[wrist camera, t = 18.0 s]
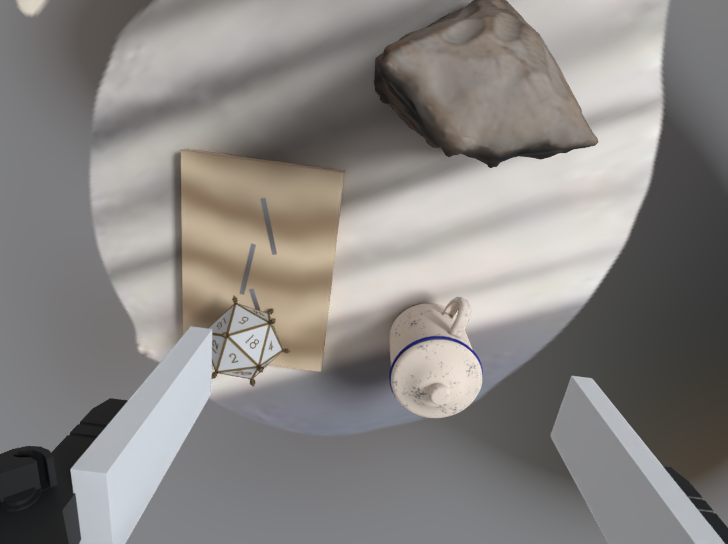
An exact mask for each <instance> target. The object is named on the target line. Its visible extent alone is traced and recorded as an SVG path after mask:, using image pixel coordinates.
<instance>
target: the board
mask: <svg viewBox="0 0 728 544" xmlns="http://www.w3.org/2000/svg"><path fill="white" fill-rule="evenodd" d="M344 174H345V171H342V170H335V169H328V168H321V167H314V166H306V165H299V164H292V163H285V162H278V161H270V160H263V159H256V158H249V157H242V156H235V155H227V154H220V153H213V152H206V151H199V150H191V149H184V150H181V217H182V303H183V335H184V334H185V333H186V331H187V330H188V329H189V328H190V327H191V326H192V327H200V328H208V327H209V326H210V325H211V324H212V323H213V322H215V321H216V320H217V319H218V318H219V317H220V316H221V315H222V314H223V313H225V312H226V311H227V310H228V309H229V308H230V307H231V306H232V305H233V304H234V302H233V300H232V299H233V295H234V296H235V297H237V300H238V301H237V303H238V304H241V305H244V306H247V307H250V308H254V309H257V310H260V311H263V312H266V313H268V311H269V309H273V308H274V309H273V311H274V312H273V313H272V314H270V317H271V319H272V318H274V319H276V321H275V323H274V327H275V330H276V332H277V335H278V337H279V340H280V342H281V345H282V347H283V349H285V348H286V349H289V350H290V351H291V352H290V353H287V354H286V353H284V352H281V353H280V354H279V355H278V356H277V357H276V358H275V359H274V360H273V361H272V362H271V363H269V364H268V365H272V366H280V367H287V368H295V369H303V370H311V371H319V372H321V368H322V362H323V353H324V345H325V336H326V328H327V319H328V311H329V302H330V294H331V285H332V276H333V268H334V259H335V251H336V242H337V234H338V225H339V216H340V208H341V199H342V191H343V182H344Z"/></svg>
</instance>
